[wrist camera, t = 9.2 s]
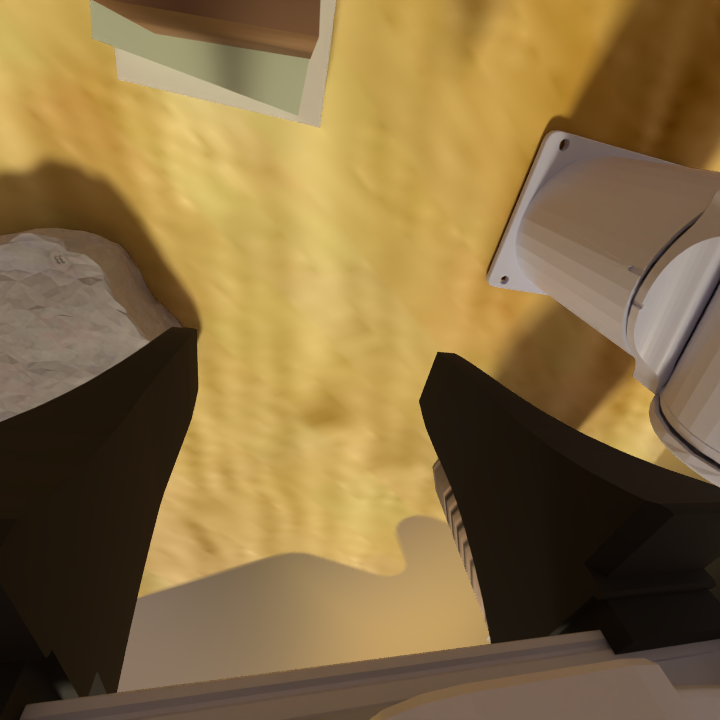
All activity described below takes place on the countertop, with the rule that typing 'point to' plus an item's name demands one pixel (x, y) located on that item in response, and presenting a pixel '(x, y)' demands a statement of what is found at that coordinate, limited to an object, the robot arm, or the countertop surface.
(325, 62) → the grey base block
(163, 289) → the countertop surface
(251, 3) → the walnut block
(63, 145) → the countertop surface
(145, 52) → the sage top block
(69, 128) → the countertop surface
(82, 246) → the stone block
